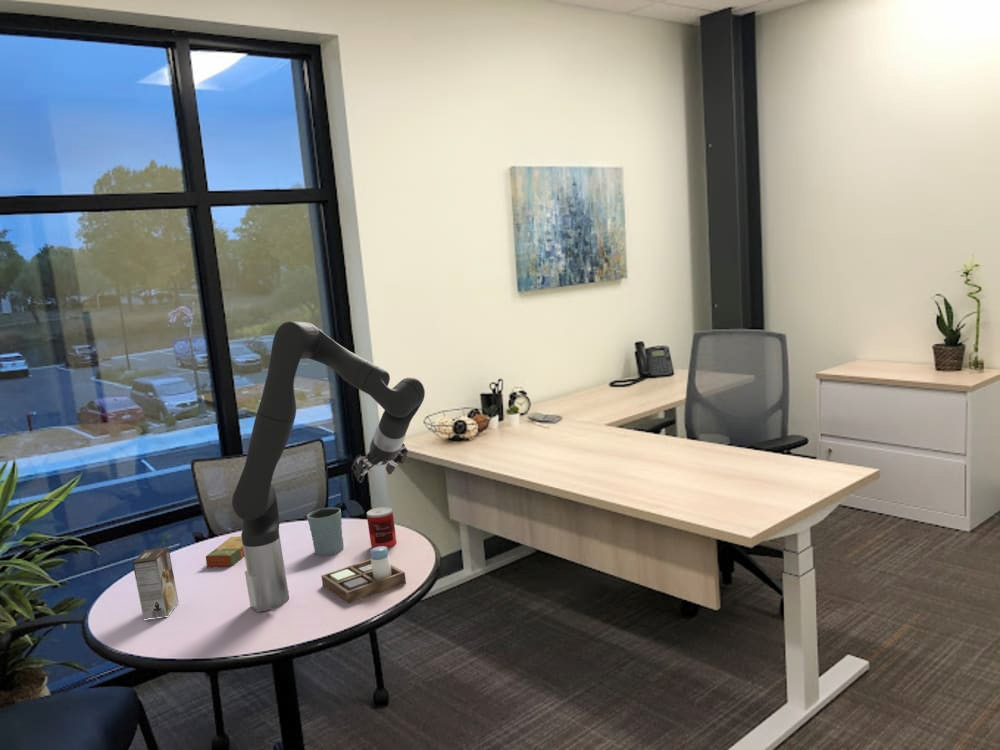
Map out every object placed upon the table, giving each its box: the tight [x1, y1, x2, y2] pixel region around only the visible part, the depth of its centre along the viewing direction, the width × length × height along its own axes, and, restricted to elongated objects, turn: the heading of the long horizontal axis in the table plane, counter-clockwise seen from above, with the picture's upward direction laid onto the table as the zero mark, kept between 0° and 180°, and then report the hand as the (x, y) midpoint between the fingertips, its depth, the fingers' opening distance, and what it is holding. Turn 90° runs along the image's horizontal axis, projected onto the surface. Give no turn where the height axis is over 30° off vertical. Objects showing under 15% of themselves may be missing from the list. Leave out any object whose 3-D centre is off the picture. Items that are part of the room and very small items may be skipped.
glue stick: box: [370, 546, 392, 581], centre depth 211 cm, size 5×5×10 cm
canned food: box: [366, 506, 397, 549], centre depth 241 cm, size 8×8×11 cm
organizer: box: [320, 558, 407, 604], centre depth 213 cm, size 16×16×4 cm
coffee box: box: [132, 546, 180, 620], centre depth 210 cm, size 9×6×16 cm
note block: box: [330, 569, 356, 582], centre depth 214 cm, size 5×5×3 cm
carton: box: [205, 535, 245, 569], centre depth 247 cm, size 8×16×4 cm, turn 170°
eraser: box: [343, 577, 368, 591], centre depth 207 cm, size 5×4×3 cm
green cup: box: [306, 507, 344, 557], centre depth 243 cm, size 10×10×12 cm
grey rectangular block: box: [358, 564, 372, 573], centre depth 218 cm, size 5×4×2 cm
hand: (373, 475), depth 213 cm, fingers open, 8 cm apart
